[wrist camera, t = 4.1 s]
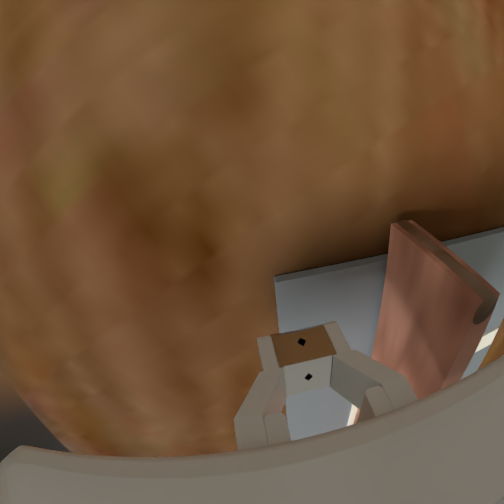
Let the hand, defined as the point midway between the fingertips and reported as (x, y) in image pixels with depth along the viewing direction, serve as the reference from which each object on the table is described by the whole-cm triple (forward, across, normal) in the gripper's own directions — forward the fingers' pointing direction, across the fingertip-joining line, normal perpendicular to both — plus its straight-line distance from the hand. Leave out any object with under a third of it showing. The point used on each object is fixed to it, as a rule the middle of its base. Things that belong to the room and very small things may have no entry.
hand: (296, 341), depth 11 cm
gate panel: (+3, -6, +3) cm, 7 cm away
